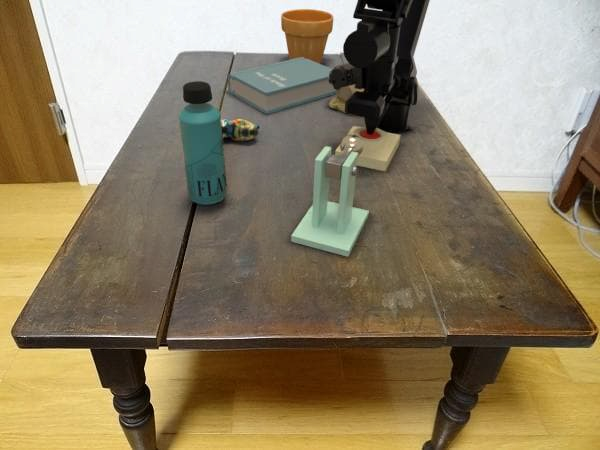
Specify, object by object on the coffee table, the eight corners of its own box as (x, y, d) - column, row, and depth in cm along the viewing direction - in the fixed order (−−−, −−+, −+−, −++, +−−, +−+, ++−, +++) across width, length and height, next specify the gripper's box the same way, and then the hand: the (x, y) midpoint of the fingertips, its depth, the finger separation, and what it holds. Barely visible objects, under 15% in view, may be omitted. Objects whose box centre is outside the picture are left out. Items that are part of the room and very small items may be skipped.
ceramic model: (351, 120, 108) (356, 76, 102) (321, 103, 115) (323, 61, 109) (396, 106, 115) (403, 64, 109) (365, 91, 122) (369, 51, 116)
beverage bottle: (195, 217, 77) (180, 96, 65) (183, 196, 82) (167, 80, 70) (234, 207, 79) (226, 89, 67) (220, 187, 84) (210, 74, 72)
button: (362, 136, 96) (363, 128, 95) (380, 139, 95) (381, 131, 94) (357, 143, 94) (358, 135, 93) (375, 147, 93) (376, 139, 92)
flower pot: (340, 63, 139) (344, 15, 131) (308, 75, 130) (310, 24, 123) (303, 52, 146) (304, 6, 139) (270, 63, 138) (270, 14, 130)
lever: (343, 150, 78) (345, 129, 76) (364, 154, 77) (367, 133, 75) (319, 179, 69) (321, 156, 67) (343, 185, 68) (346, 162, 66)
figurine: (193, 114, 104) (262, 116, 102) (194, 134, 105) (262, 137, 104) (177, 119, 94) (253, 122, 92) (178, 142, 95) (254, 144, 94)
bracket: (316, 204, 81) (320, 134, 73) (368, 216, 78) (377, 145, 70) (290, 241, 72) (292, 167, 65) (348, 257, 70) (356, 181, 62)
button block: (352, 135, 102) (354, 117, 99) (399, 144, 99) (402, 126, 97) (334, 160, 93) (335, 142, 90) (385, 171, 90) (388, 152, 88)
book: (266, 114, 109) (266, 93, 106) (228, 92, 119) (227, 72, 116) (340, 92, 121) (341, 73, 118) (299, 74, 131) (300, 55, 128)
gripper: (351, 32, 93) (344, 108, 103) (318, 60, 79) (314, 146, 89) (408, 40, 90) (396, 118, 100) (384, 70, 76) (373, 158, 86)
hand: (370, 133), depth 93 cm, fingers closed, pressing on button
